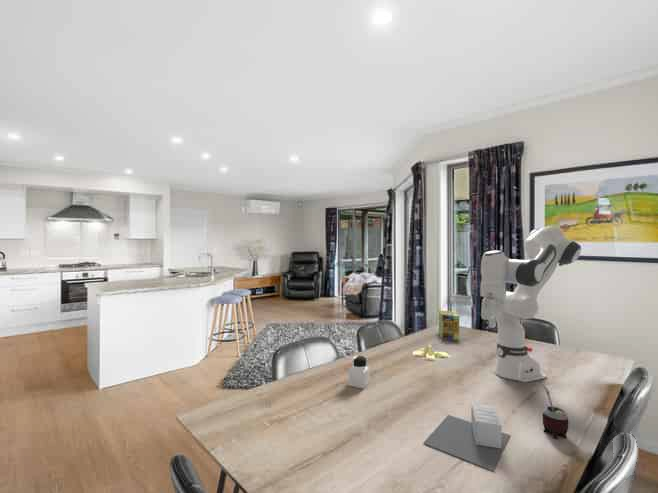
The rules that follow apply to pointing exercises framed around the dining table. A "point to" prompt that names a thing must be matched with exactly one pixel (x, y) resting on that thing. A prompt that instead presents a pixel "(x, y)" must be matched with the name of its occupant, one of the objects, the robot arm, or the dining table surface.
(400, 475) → the dining table surface
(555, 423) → the mate gourd
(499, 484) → the dining table surface
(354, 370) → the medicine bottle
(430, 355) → the banana bunch
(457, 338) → the protein box
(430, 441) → the mat
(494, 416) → the supplement box
